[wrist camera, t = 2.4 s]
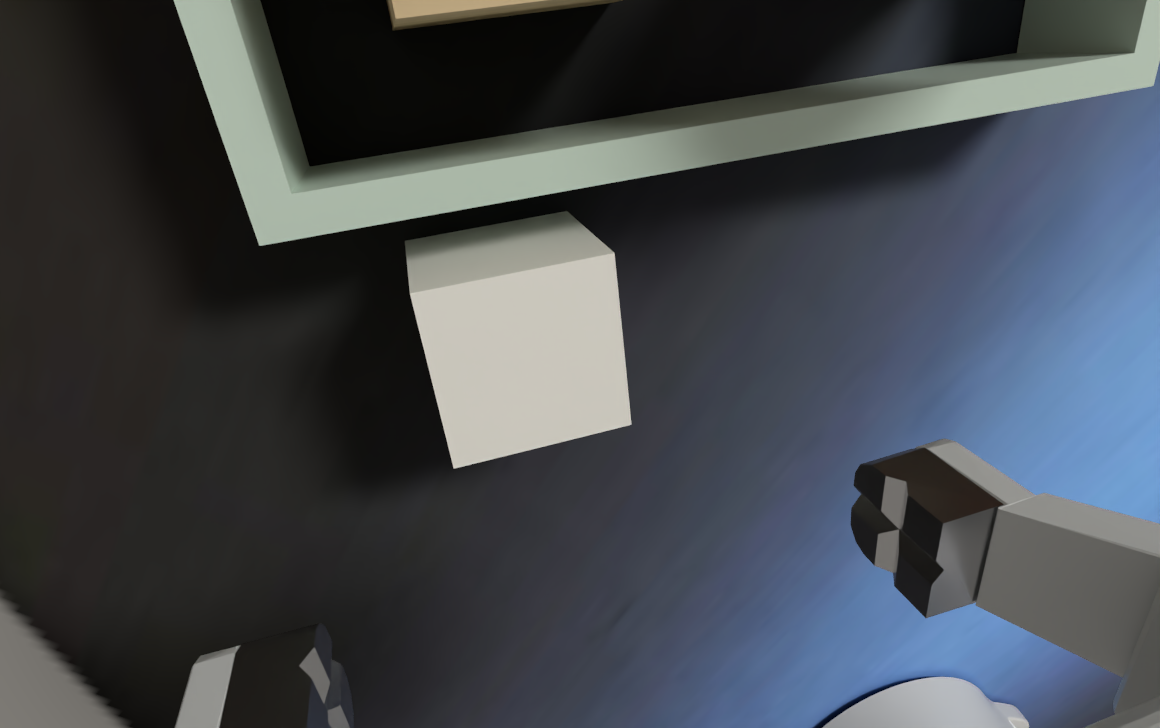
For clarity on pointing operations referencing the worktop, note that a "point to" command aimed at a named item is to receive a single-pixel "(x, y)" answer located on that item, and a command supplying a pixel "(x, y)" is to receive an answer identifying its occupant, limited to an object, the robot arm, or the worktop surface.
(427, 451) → the worktop surface
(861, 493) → the robot arm
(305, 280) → the worktop surface
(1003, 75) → the tote
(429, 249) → the cream block
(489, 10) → the oak block
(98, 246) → the worktop surface
